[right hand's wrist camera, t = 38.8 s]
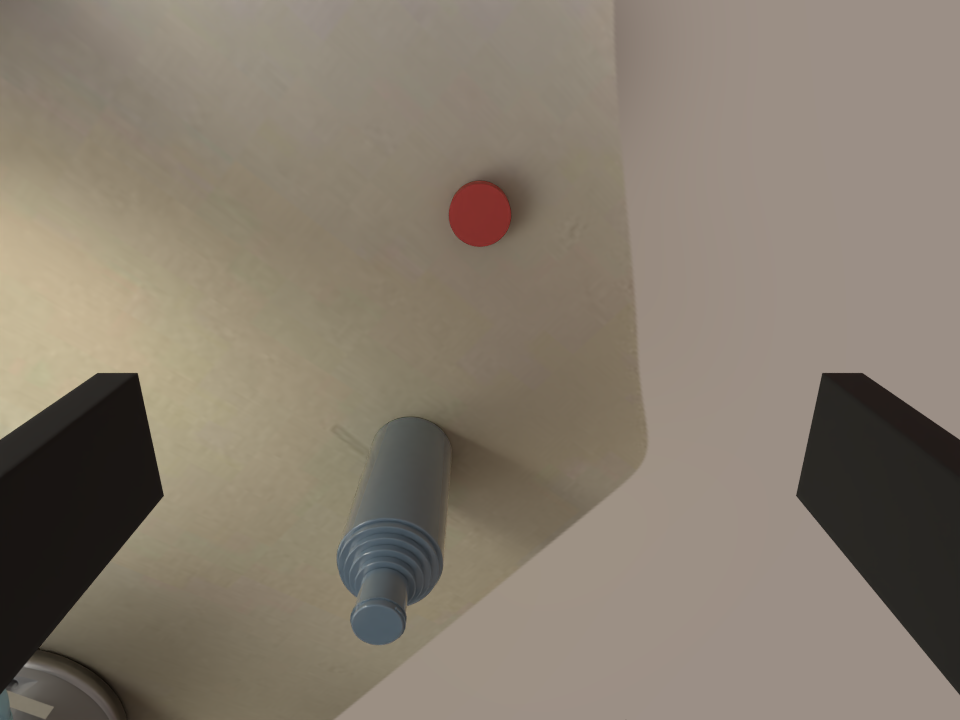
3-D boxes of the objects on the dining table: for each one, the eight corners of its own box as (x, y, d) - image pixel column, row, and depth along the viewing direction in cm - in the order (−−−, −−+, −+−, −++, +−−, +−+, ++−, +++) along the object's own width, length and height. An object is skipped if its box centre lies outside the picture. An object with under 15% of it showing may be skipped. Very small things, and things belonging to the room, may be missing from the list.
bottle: (407, 500, 48) (372, 688, 33) (354, 446, 47) (290, 618, 31) (468, 458, 47) (462, 633, 31) (416, 401, 45) (382, 555, 30)
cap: (480, 167, 40) (481, 170, 38) (522, 212, 40) (524, 216, 39) (437, 210, 40) (435, 214, 39) (479, 253, 41) (479, 259, 40)
